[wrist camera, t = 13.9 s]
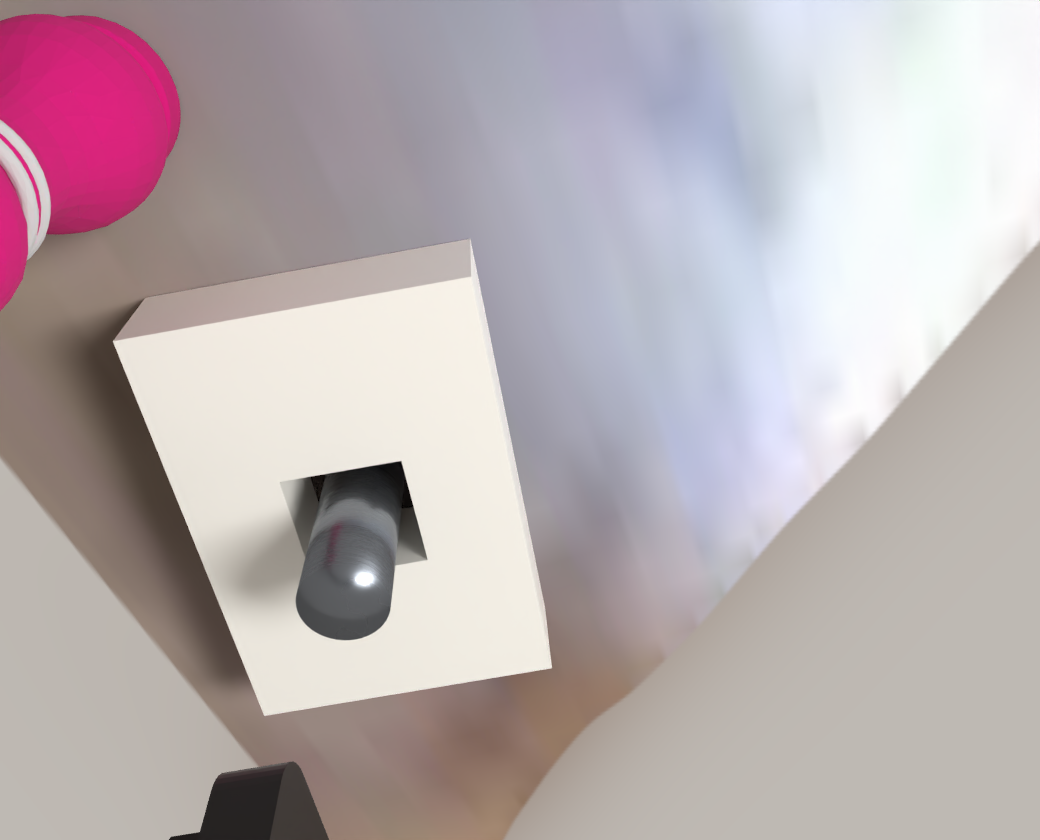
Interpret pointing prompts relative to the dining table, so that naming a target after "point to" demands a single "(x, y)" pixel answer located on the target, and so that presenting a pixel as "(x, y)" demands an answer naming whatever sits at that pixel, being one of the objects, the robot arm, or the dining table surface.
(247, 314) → the hole block
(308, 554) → the peg
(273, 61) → the dining table surface
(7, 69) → the pepper mill
